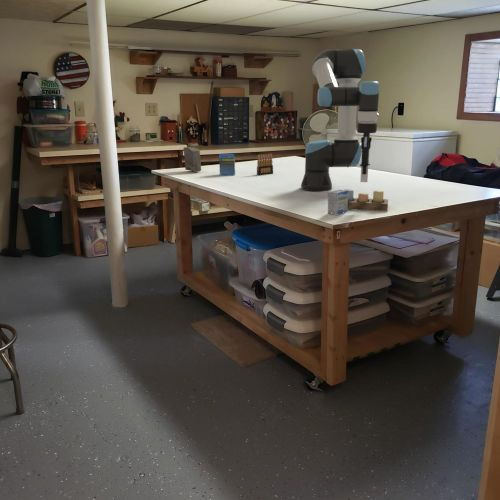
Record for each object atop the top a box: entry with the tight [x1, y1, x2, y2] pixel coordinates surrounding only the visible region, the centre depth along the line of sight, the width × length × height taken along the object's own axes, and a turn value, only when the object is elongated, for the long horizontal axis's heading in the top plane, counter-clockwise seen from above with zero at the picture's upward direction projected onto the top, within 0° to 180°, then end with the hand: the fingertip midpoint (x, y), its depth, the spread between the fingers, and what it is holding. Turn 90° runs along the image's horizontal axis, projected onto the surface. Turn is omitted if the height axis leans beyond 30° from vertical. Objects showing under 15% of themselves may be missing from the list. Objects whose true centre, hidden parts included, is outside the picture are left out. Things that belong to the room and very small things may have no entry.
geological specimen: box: [182, 146, 202, 173], centre depth 311 cm, size 11×6×15 cm, turn 35°
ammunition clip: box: [256, 153, 274, 177], centre depth 299 cm, size 11×2×12 cm, turn 125°
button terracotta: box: [357, 192, 369, 202], centre depth 213 cm, size 4×4×5 cm
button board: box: [347, 197, 389, 212], centre depth 213 cm, size 20×9×3 cm, turn 74°
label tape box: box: [218, 153, 236, 176], centre depth 299 cm, size 9×4×12 cm, turn 84°
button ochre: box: [372, 190, 384, 203], centre depth 211 cm, size 4×4×5 cm
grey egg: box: [346, 189, 355, 201], centre depth 214 cm, size 4×4×5 cm
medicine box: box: [327, 189, 348, 215], centre depth 204 cm, size 8×4×9 cm, turn 138°
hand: (363, 181), depth 211 cm, fingers closed
